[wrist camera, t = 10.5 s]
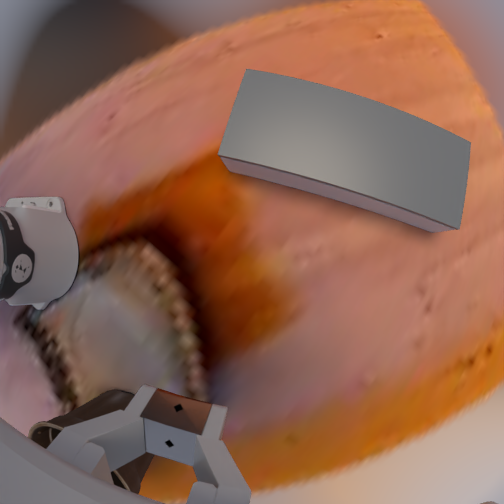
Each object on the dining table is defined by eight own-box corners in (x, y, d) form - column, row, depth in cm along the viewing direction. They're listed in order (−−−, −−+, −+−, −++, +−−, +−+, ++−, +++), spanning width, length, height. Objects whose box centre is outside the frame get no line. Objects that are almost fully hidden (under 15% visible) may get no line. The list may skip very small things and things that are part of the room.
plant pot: (146, 473, 39) (107, 531, 23) (75, 414, 41) (20, 455, 25) (195, 427, 38) (157, 497, 22) (110, 357, 40) (42, 398, 24)
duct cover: (219, 156, 31) (217, 154, 31) (247, 72, 31) (246, 68, 30) (455, 229, 29) (459, 229, 28) (467, 144, 28) (470, 142, 27)
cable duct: (229, 171, 38) (220, 157, 32) (252, 98, 38) (248, 75, 32) (432, 232, 35) (454, 229, 29) (443, 158, 35) (464, 146, 29)
